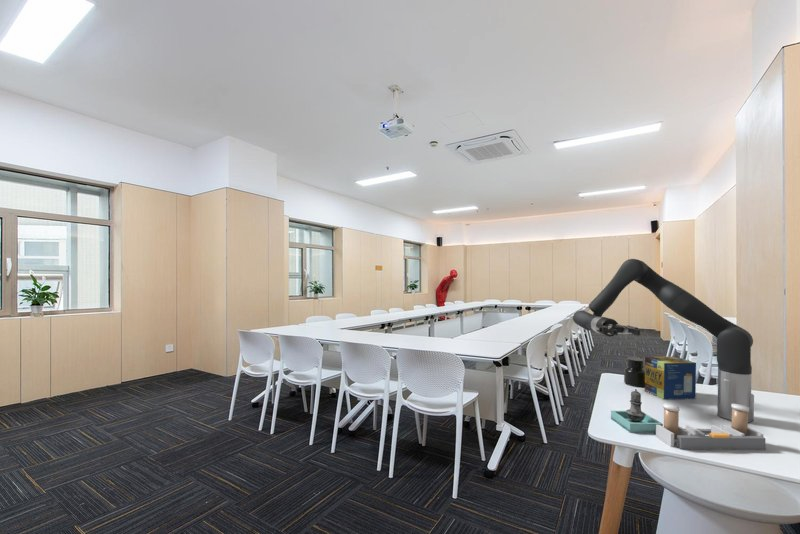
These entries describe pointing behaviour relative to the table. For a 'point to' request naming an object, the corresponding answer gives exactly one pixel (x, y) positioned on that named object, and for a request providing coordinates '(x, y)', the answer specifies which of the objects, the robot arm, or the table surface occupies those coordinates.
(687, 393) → the protein box
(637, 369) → the ink bottle
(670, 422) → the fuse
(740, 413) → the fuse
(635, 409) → the salt shaker
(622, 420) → the tray
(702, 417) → the table surface
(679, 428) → the fuse rail
